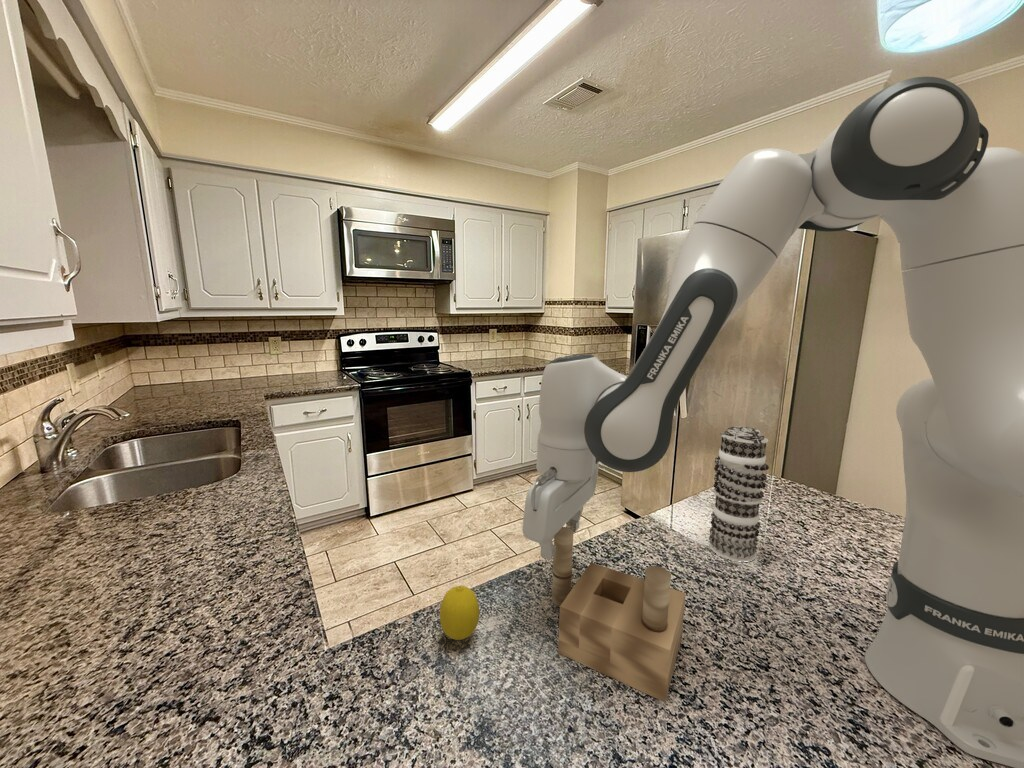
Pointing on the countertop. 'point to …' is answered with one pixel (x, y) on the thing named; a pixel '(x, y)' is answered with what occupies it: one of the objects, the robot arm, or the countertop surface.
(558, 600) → the peg
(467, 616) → the lemon
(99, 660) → the countertop surface
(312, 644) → the countertop surface
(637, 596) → the wooden peg hole block
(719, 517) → the decorative candle
